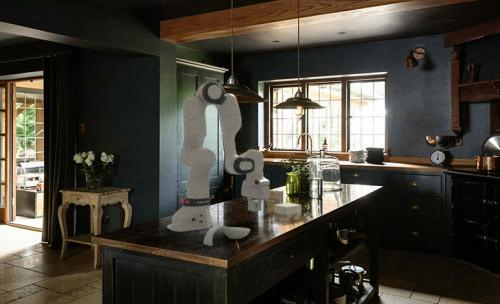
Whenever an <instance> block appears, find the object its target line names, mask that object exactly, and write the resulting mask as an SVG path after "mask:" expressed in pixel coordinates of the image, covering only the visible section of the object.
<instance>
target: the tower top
mask: <svg viewBox="0 0 500 304" xmlns="http://www.w3.org/2000/svg"><path fill="white" fill-rule="evenodd" d="M274 212H276V213H280V214H284V215H290V214H296V213H301V214H302V205H301V204H298V203H293V202H292V203H291V202H283V204H276V205H274Z"/></svg>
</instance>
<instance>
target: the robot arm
mask: <svg viewBox="0 0 500 304" xmlns="http://www.w3.org/2000/svg"><path fill="white" fill-rule="evenodd" d="M212 105H213V106H214V107H215V108H216V109H217V115H218V118H219V124H220V130H221V136H222V137H221V138H222V146H223V153H224V157H223V158H224V159H223V164H222V165H223V166H222V167H223V169H224V171H225V172H226V173H227V174H230V175H240V176H241V175H246V179H243V181H242V184H241V189H240V190H241V191H240V193H241V196H242V197H245V198H247V202H248V201H250V200H253V199H254V200H257V201H258V203H257V204H256V207H257V208H260V207H261V208H262V203H263V201H268V199H269V196H270V190H271V189H270V183H271V182H270V180H269V179H267V178H266V177H265V176H264V170H263V169H264V154H263V152H262V151H261V150H259V149H252V148H250V149H248V150H247V151H246V152H244V153H242V154H240V155H238V154H237V150H236V149H237V148H236V141H235V138H236V136H237V135H236V134H237V133H238V132H239V130H240V129H241V128H242V115H241V110H240V106H239V104H238V100H237V98H236V96H235V95H234V94H233V93H229V92H228V93H227V92H226V90H225V89H224V88H223V86H222V85H221V84H220V83H219V82H216V81H209V82H205V83H204V82H203V83H202V84H201V85H200V86H198V88H197V89H196V90H195V93H194V95H193V96H189V97H188V98H186V99H184V101H183V110H182V111H183V112H182V119H183V142H182V148H181V152H180V153H179V157H178V158H179V163H180V164H181V165H182V166H183V167H185V168H186V169H189V170H190V172H189V176H188V179H187V180H186V185H185V186H186V197H185V199H184V198H180V199H179V203H180V204H183V206H181V207H180V209H178V210H177V211H176V212H175V213H173V215H172V218H171V224H168V225H167V226H166V228H167V229H168V230H169V229H170V231H172V232H178V233H181V232H189V231H198V230H199V231H200V230H206V229H208V230H209V229H211V228H212V227H213V225H214V223H213V221H212V216H211V209H210V208H211V198H210V178H211V174H212V169H213V168H214V166H215V165H216V161H217V158H216V157H217V156H216V153H215V152H214V151H213V150H211V149H210V148H207V147H204V142H205V139H206V137H207V134H208V133H207V119H206V109H207V107H208V106H212Z"/></svg>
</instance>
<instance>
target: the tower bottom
mask: <svg viewBox="0 0 500 304" xmlns="http://www.w3.org/2000/svg"><path fill="white" fill-rule="evenodd" d="M273 215H274V220H276V221H280V220H281V222H285V221H286V223H288V222H289V221H290V222H294V221H295V222H296V221H300V220H301V221H302V212H301V213H296V214H290V215H284V214H280V213H276V212H274V214H273ZM290 222H289V223H290Z"/></svg>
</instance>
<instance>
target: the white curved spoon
mask: <svg viewBox="0 0 500 304" xmlns="http://www.w3.org/2000/svg"><path fill="white" fill-rule="evenodd" d="M218 230H220V231H222V232H223V233H224V234H225V236H226V237H228V239H231V240H239V239H240V240H241V239H243V238H245V237H247V235H249V233H250V231H251V229H250V228H248V227H247V228H246V227H241V226H240V227H239V226H238V227H237V226H234V227H233V226H231V227H230V226H225V225H222V226H221V225H217V224H216V225H214V226H213V225H212V226H211V227H210V228H209V229H208V230H207V232H206V234H205V236H204V239H203V245H205V246H211V247H213V237H214V234H215V233H216V232H217V231H218Z"/></svg>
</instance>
